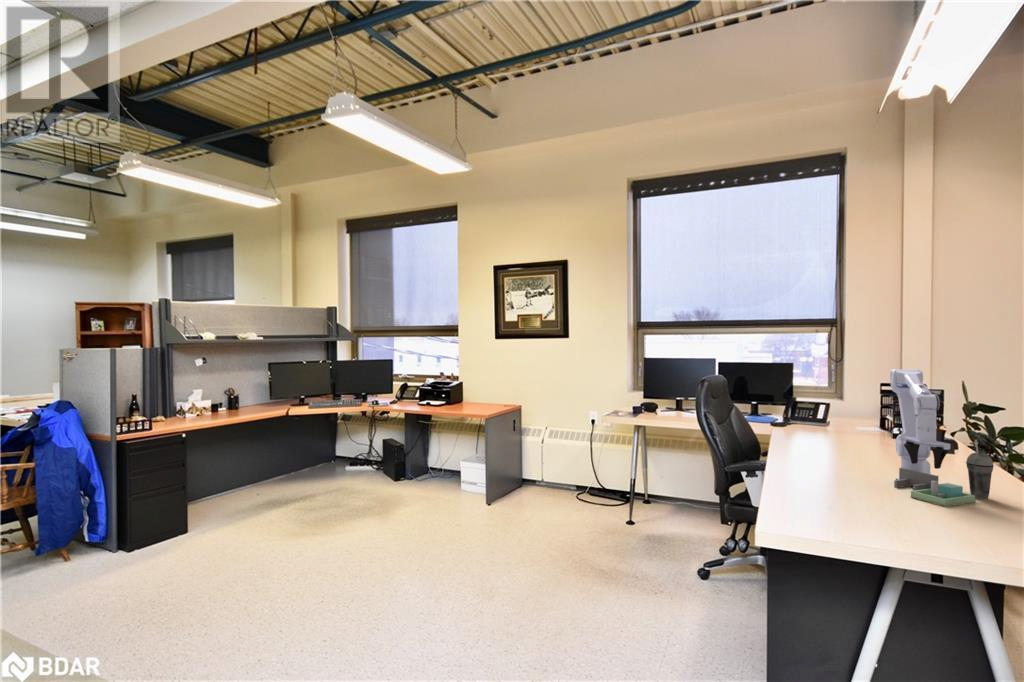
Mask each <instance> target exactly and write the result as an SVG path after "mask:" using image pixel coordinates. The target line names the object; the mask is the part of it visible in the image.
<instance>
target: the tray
mask: <svg viewBox="0 0 1024 682" xmlns="http://www.w3.org/2000/svg"><path fill="white" fill-rule="evenodd" d="M911 497H912V498H911ZM910 498H911V499H915V498H916V500H918V499H920V500H919V501H922V500H923V502H926V501H927V502H926V503H930V502H931V503H930V504H933V503H935V504H934V505H937V504H938V506H941V505H942V507H944V506H946V507H950V506H951V507H952V506H958V504H959V505H964V504H965V503H966V504H971V503H976V498H975V495H971V493H966V492H963V496H961V497H954V498H947V499H946V498H942V497H941V498H938V497H934V496H931V488H930V489H923V490H915V491H913V490H910Z"/></svg>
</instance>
